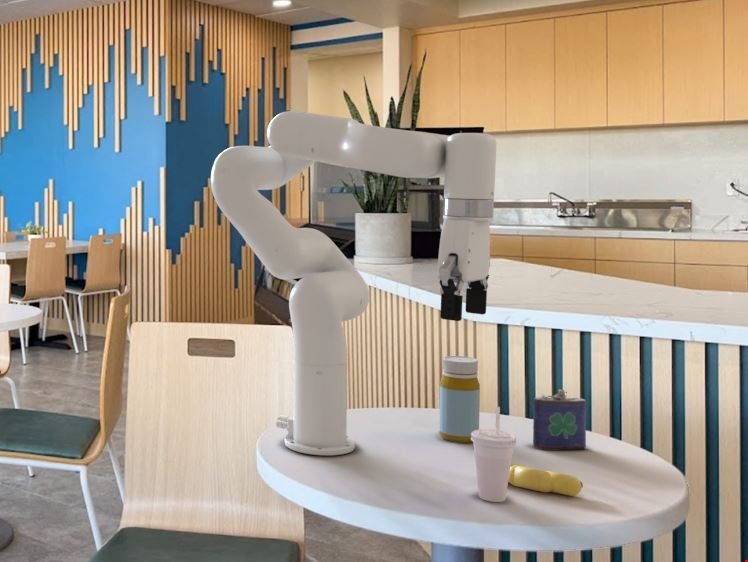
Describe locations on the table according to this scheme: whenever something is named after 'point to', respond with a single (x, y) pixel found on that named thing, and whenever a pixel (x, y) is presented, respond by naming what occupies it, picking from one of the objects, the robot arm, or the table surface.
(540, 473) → the yellow lumpy bar
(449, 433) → the bottle
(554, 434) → the flask
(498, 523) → the table surface
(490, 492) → the smoothie
